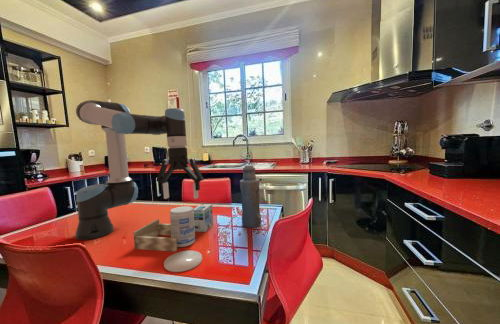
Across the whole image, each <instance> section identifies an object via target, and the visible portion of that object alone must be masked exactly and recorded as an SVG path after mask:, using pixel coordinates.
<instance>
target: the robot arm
mask: <svg viewBox="0 0 500 324" xmlns="http://www.w3.org/2000/svg"><path fill="white" fill-rule="evenodd" d="M75 114H76V117H77V118H78V119H79V120H80V121H81V122H82V123H84V124H89V125H97V126H100V127H101V130H102V132H104V133H105V137H106V138H105V139H106V140H105V141H106V149H107V151H106V152H107V158H108V159H107V161H108V171H109V179H108V180H107V181H106V183H107V184H104V183H97V184H91V185H88V186H85V187H82V188H80V189H78V190H77V191H76V193H75V195H76V197H75V198H76V199H75V201H76V206H77V214H78V215H77V216H78V224H77V228H76V231H75V239H77V241H78V240H79V241H86V240H93V239H97V238H102V237H105V236H107V235H109V234H111V233H113V231H114V224H113V223H112V220H111V219H110V216H109V211H108V210H110V209H114V208H117V207H122V206H127V205H129V204H132V203H134V202H135V201H136V200H137V198H138V197H139V195H138V194H139V188H138V185H137V183H136V182H135V181H133V178H132V177H130V176H129V167H128V166H129V165H128V155H127V142H126V135H129V134H130V135H153V136H161V135H166V140H167V143H166V144H167V147H168V148H167V154H168V155H167V156H168V159H167V158H166V159H162V160H161V165H160V166H161V167H160V170H159V171H158V174H157V177H156V182H157V183H160V184H161V185H160V187H161V191H163V192H162V193H163V199H164V200H167V199H169V198H170V190H169V189H170V188H169V182H168V179H169V178H170V176H171V175H172V174H173V173H174V171H178V170H179V171H182V170H183V171H184V172H185V173H186V174H187V175H188V176H189V177H190V179H192V181H193V183H192V192H193V199H194V200H196V199H198V198H199V191H200V190H201V186H200V183H201V182H202V181H204V179H205V178H204V176H203V175H202V173H201V170H200V169H199V167H198V164H197V162H196V159H195V157H193V158H188V155H189V154H188V148H187V146H188V145H187V144H188V143H187V131H186V130H187V129H186V128H187V127H186V115H185V111H184V109H182V108H178V107H173V108H172V107H171V108H166V109H165V110H164V115H161V116H157V115H156V116H155V115H145V114H135V113H131V111H130V109H129V107H128V106H127V105H125V104H123V103H117V102H110V101H103V100H102V101H100V100H96V99H94V100H89V99H88V100H84V101H82V102H80V103H79V104H77V106H76V108H75ZM188 164H189V165H190V166H189V165H188ZM168 165H170V166H169V167H168Z"/></svg>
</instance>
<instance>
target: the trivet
mask: <svg viewBox="0 0 500 324" xmlns="http://www.w3.org/2000/svg"><path fill="white" fill-rule="evenodd" d="M202 260H203V255H202V254H201V252H199V251H196V250H183V251H179V252H175V253H173V254H171V255H169V256H168V257H166V259H164V261H163V267H164V269H165V270H166V271H168V272H171V273H182V272H187V271H190V270H193V269H195V268H197V266H199V265H200V264H201V263H202Z"/></svg>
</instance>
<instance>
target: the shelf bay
mask: <svg viewBox="0 0 500 324" xmlns="http://www.w3.org/2000/svg"><path fill="white" fill-rule="evenodd" d="M132 234H133V244H134V249H135V250H147V251H163V252H175V253H177V251H178V247H177V242H176V238H171V237H167V236H171V223H160V219H159V218H157V219H154V220H153V221H151V222H149V223H148V224H146V225H144V226H142V227H140V228H138V229H137V230H135V231H133V233H132ZM160 235H161V236H162V237H161V236H160ZM163 236H165V237H163Z"/></svg>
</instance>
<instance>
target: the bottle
mask: <svg viewBox="0 0 500 324" xmlns="http://www.w3.org/2000/svg"><path fill="white" fill-rule="evenodd" d="M242 173H243V174H242V179H240V180H239V188H240V189H239V190H240V193H241V194H240V195H241V212H242V213H241V224H242V226H243V227H245V228H257V227H259V226H261V225H262V215H261V210H260V209H261V208H260V179H258V178H257V176H256V168H255V167H254V165H251V164H250V165H244V167H243V169H242Z"/></svg>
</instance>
